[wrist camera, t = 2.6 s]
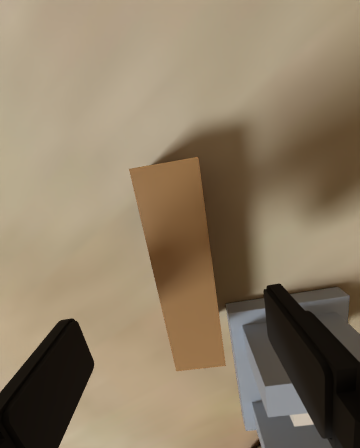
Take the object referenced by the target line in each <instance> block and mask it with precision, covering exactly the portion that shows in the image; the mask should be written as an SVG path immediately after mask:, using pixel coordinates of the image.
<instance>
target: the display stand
mask: <svg viewBox="0 0 360 448" xmlns="http://www.w3.org/2000/svg"><path fill="white" fill-rule="evenodd" d="M290 295H291V296H292V297H293V298H294V299H295V300H296V301H297V302H298V304H299V305H300V306H301V307H302V308H303V309H304V310H305V311H307V310H308V311H311V312H312V313H313V314H314V315H315V316H316V317H317V318H318V319H319V320H320V321H321V322H322V323H323V324H324V325H325V326H326V327H327V328H328V329H329V330H330V332H331V333H332V334H333V335H334V336H335V337H336V338H337V339H338V340H339V341H340V342H341V343H342V344H343V345H344V346H345V347H346V348H347V349H348V350H349V351H350V352H351V353H352V355H353V356H354V357H355V358H356V359H357V360H358V361H359V362H360V334H359V333H358V332H357V331H356V330H355V329H354V328H353V327H352V326H350V325H349V324H348V310H349V297H350V296H349V295H348V294H347V293H345V292H344V291H343V290H341V289H340V288H339V287H334V288H327V289H321V290H314V291H307V292H301V293H294V294H290ZM226 310H227V316H228V323H229V330H230V336H231V343H232V350H233V356H234V363H235V369H236V376H237V383H238V389H239V396H240V403H241V409H242V416H243V420H244V425H245V429H246V431H250V430H257V433H258V437H259V440H260V444H261V447H262V448H332V446H331V445H330V443H329V441H328V439H323V438H322V437H321V436H320V434H319V433H318V431H317V429H316V427H315V425H314V424H313V422H312V420H311V418H310V416H309V414H308V412H307V410H306V409H305V407H304V405H303V403H302V401H301V399H300V397H299V396H298V394H297V392H296V390H295V388H294V386H293V384H292V382H291V381H290V379H289V377H288V375H287V373H286V371H285V369H284V368H283V366H282V364H281V362H280V360H279V358H278V356H277V354H276V353H275V351H274V349H273V347H272V345H271V343H270V341H269V338H268V334H267V324H266V313H265V302H264V298H261V299H255V300H248V301H241V302H235V303H228V304H226Z"/></svg>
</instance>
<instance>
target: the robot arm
mask: <svg viewBox="0 0 360 448" xmlns="http://www.w3.org/2000/svg"><path fill="white" fill-rule="evenodd" d="M264 302H265V313H266V324H267V334H268V338H269V341H270V343H271V345H272V347H273V349H274V351H275V353H276V354H277V356H278V358H279V360H280V362H281V364H282V366H283V368H284V369H285V371H286V373H287V375H288V377H289V379H290V381H291V382H292V384H293V386H294V388H295V390H296V392H297V394H298V396H299V397H300V399H301V401H302V403H303V405H304V407H305V409H306V410H307V412H308V414H309V416H310V418H311V420H312V422H313V424H314V425H315V427H316V429H317V431H318V433H319V434H320V436H321V437H322V438H323V439H328V441H329V443H330V445H331V446H332V448H360V362H359V361H358V360H357V359H356V358H355V357H354V356H353V355H352V353H351V352H350V351H349V350H348V349H347V348H346V347H345V346H344V345H343V344H342V343H341V342H340V341H339V340H338V339H337V338H336V337H335V336H334V335H333V334H332V333H331V332H330V330H329V329H328V328H327V327H326V326H325V325H324V324H323V323H322V322H321V321H320V320H319V319H318V318H317V317H316V316H315V315H314V314H313V313H312V312H311V311H308V310H307V311H305V310H304V309H303V308H302V307H301V306H300V305H299V304H298V302H297V301H296V300H295V299H294V298H293V297H292V296H291V295H290V294H289V293H288V292H287V290H286V289H285V288H284V287H283V286H282V285H281V284H274V285H268V286H267V289H264ZM93 368H94V361H93V358H92V356H91V353H90V351H89V348H88V346H87V343H86V341H85V338H84V336H83V333H82V331H81V328H80V326H79V323H78V322H77V321H75V320H74V319H66V320H61V321H59V322H58V323H57V324H56V326H55V327H54V328H53V329H52V330H51V332H50V333H49V334H48V335H47V336H46V338H45V339H44V340H43V341H42V343H41V344H40V345H39V346H38V347H37V349H36V350H35V351H34V352H33V353H32V355H31V356H30V357H29V358H28V360H27V361H26V362H25V363H24V364H23V366H22V367H21V368H20V369H19V370H18V372H17V373H16V374H15V375H14V377H13V378H12V379H11V380H10V381H9V383H8V384H7V385H6V386H5V387H4V389H3V390H2V391H1V392H0V448H58V447H59V445H60V443H61V441H62V438H63V436H64V434H65V432H66V429H67V427H68V425H69V423H70V420H71V418H72V416H73V414H74V411H75V409H76V407H77V405H78V402H79V400H80V398H81V396H82V393H83V391H84V389H85V387H86V385H87V382H88V380H89V378H90V376H91V373H92V371H93Z"/></svg>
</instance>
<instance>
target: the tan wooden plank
mask: <svg viewBox="0 0 360 448" xmlns="http://www.w3.org/2000/svg"><path fill="white" fill-rule="evenodd" d="M129 171H130V175H131V179H132V183H133V188H134V192H135V196H136V200H137V205H138V209H139V213H140V218H141V222H142V226H143V230H144V235H145V239H146V243H147V247H148V252H149V256H150V260H151V265H152V269H153V273H154V277H155V282H156V286H157V290H158V294H159V299H160V303H161V307H162V312H163V316H164V320H165V324H166V329H167V333H168V337H169V341H170V346H171V350H172V354H173V359H174V363H175V367H176V371H182V370H191V369H200V368H209V367H218V366H226V365H225V357H224V350H223V342H222V334H221V327H220V319H219V311H218V304H217V296H216V288H215V281H214V273H213V265H212V258H211V250H210V243H209V235H208V227H207V220H206V212H205V204H204V197H203V189H202V181H201V174H200V166H199V159H198V157H194V158H189V159H183V160H177V161H172V162H166V163H160V164H155V165H149V166H143V167H138V168H132V169H129Z"/></svg>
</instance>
